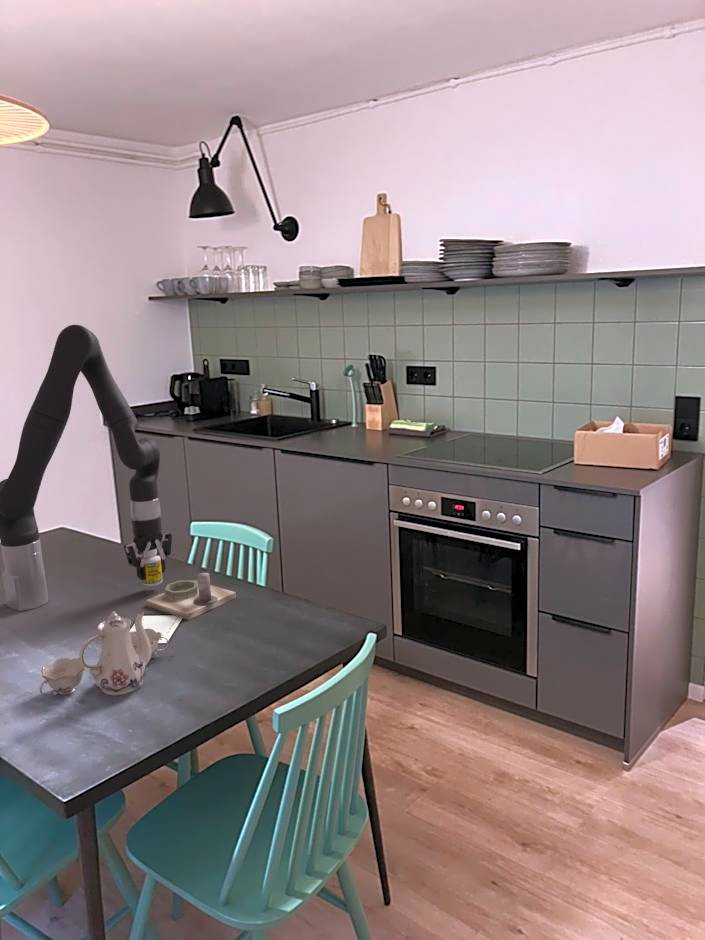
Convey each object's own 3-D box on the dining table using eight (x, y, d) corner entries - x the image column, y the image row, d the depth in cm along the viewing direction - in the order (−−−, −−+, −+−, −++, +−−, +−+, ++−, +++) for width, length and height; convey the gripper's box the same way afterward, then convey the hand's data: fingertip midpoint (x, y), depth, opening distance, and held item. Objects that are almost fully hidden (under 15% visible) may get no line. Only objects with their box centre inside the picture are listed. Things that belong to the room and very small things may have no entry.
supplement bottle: (156, 577, 208) (153, 544, 206) (166, 582, 204) (163, 548, 202) (138, 583, 204) (135, 549, 202) (148, 588, 201) (144, 553, 198)
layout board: (189, 620, 185) (186, 587, 183) (146, 605, 195) (143, 574, 193) (237, 598, 197) (234, 567, 195) (195, 585, 207) (192, 555, 205)
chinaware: (148, 651, 174) (136, 581, 171) (195, 664, 163) (182, 590, 160) (32, 705, 153) (16, 627, 150) (77, 724, 142) (60, 640, 139)
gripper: (159, 506, 208) (164, 565, 212) (114, 519, 197) (120, 581, 201) (177, 510, 203) (182, 570, 207) (131, 524, 192) (137, 587, 196)
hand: (151, 575), depth 204 cm, fingers closed on supplement bottle, 5 cm apart
